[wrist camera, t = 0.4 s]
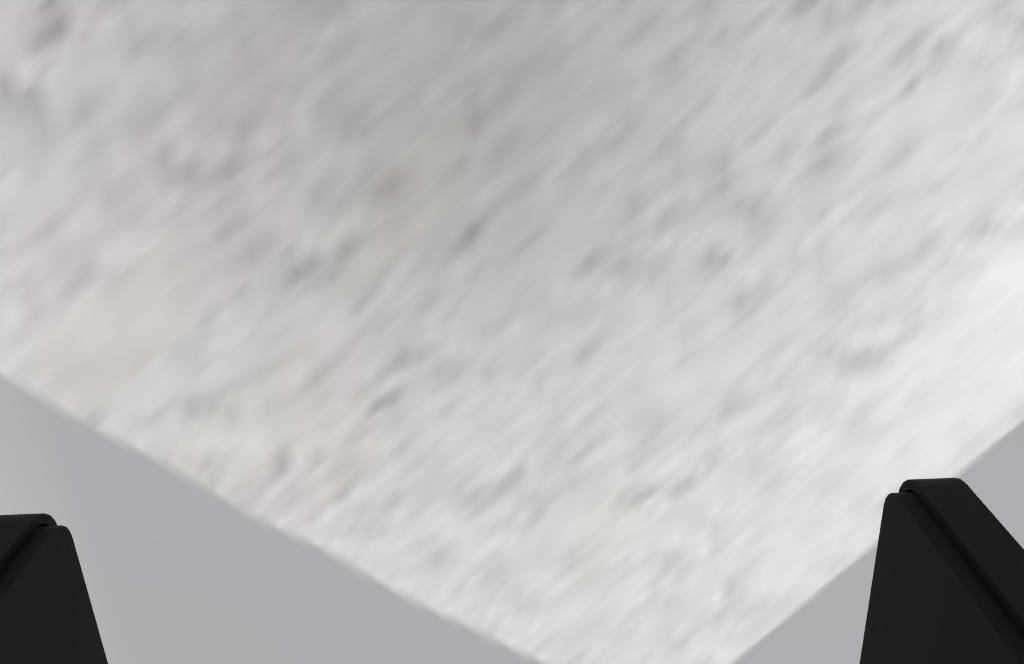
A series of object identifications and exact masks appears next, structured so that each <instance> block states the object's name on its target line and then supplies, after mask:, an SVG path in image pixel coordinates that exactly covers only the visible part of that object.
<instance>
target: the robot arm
mask: <svg viewBox="0 0 1024 664" xmlns="http://www.w3.org/2000/svg"><path fill="white" fill-rule="evenodd" d="M0 664H108V662H107V659H106V655H105V652H104V648H103V645H102V641H101V638H100V634H99V631H98V627H97V623H96V620H95V616H94V613H93V609H92V605H91V602H90V599H89V595H88V591H87V588H86V584H85V581H84V577H83V573H82V570H81V566H80V563H79V559H78V556H77V552H76V549H75V545H74V541H73V538H72V535H71V533H70V531H69V530H68V528H67V527H64V526H57V524H56V522H55V520H54V519H53V518H52V517H51V516H50V515H47V514H20V515H19V514H18V515H0ZM860 664H1024V549H1023V548H1022V547H1021V546H1020V545H1019V544H1018V542H1017V541H1016V540H1015V539H1014V538H1013V537H1012V536H1011V534H1010V533H1009V532H1008V531H1007V530H1006V529H1005V528H1004V526H1003V525H1002V524H1001V523H1000V522H999V521H998V520H997V518H996V517H995V516H994V515H993V514H992V513H991V512H990V510H988V508H987V507H986V506H985V505H984V504H983V502H982V501H981V500H980V499H979V498H978V497H977V496H976V494H975V493H974V492H973V491H972V490H971V489H970V488H969V486H968V485H967V484H966V483H965V482H963V481H962V480H961V479H958V478H939V479H913V480H907V481H905V482H903V484H902V485H901V487H900V490H899V493H891V494H889V495H888V496H887V497H886V499H885V503H884V508H883V514H882V521H881V527H880V534H879V540H878V547H877V554H876V561H875V567H874V574H873V580H872V587H871V594H870V600H869V607H868V613H867V619H866V626H865V632H864V640H863V646H862V652H861V659H860Z"/></svg>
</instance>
